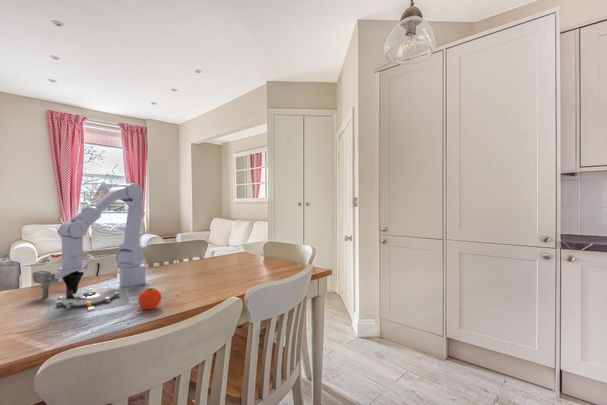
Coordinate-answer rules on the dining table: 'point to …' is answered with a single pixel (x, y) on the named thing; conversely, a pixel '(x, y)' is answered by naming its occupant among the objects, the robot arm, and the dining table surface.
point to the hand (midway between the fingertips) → (72, 293)
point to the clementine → (149, 298)
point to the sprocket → (87, 297)
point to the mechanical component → (44, 280)
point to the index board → (62, 311)
